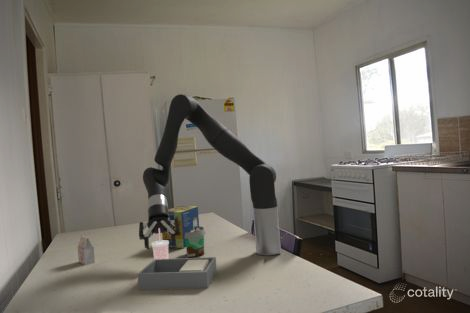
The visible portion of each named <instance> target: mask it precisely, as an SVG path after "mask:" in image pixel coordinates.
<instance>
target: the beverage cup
mask: <svg viewBox="0 0 470 313" xmlns="http://www.w3.org/2000/svg"><path fill="white" fill-rule="evenodd" d="M158 229H159V233H158V239H159V240H155V241H152V242H151V247H152V252H153V253H152V254H153V260H154V259H170V257H169V256H170V255H169V248H168V244H169V241H168V240H163V239H161V233H160V228H158Z"/></svg>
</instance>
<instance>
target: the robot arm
mask: <svg viewBox="0 0 470 313" xmlns="http://www.w3.org/2000/svg"><path fill="white" fill-rule="evenodd" d="M185 120H187V121H188V122H189V123H191V124H192V125H193V126H195V127H196V128H197V129H199V131H200V132H201V134H202V136H203V137H204V138H205V140H206V142H207V143H208V144H209V146H211V147H212V148H213V149H214V150H215V151H216V152H218V154H220V155H221V156H223V157H224V158H226V159H227V160H228V161H230V162H232V163H235V165H237V166H239V167H240V168H241V169H243V170H244V171H245V173H246V174H248V175H249V180H248V181H249V191H250V192H249V193H250V200H251V202H252V212H253V227H254V240H255V254H258V255H260V256H274V255H279V254H282V252H281V250H282V249H281V235H280V234H281V233H280V223H279V213H278V200H277V197H276V196H277V195H276V188H275V182H276V180H277V172H276V170H275V169H274V167H273V166H271V165H270V164H268V163H267V162H266V161H264V160H262V159H261V158H260V157H259V156H257V155H255V154H254V153H253V152H252V151H251V150H250V149H249V148H248V147H247V146H246V145H245V143H243V141H241V139H239V138H238V137H237V136H236V135H235V134H234V133H233V132H231V130H229V129H228V127H226V126H225V125H224V124H222V123H221V122H220V121H218V120H217V119H215V118H214V117H213V116H211V114H209V113H208V112H207V111H206V110H205V108H204V107H203V106H202V105H201V104H200V103H199V102H198V101H197V100H196V99H195V98H194V97H193V96H190V95H188V94H177V95H175V96H174V97H173V98H172V99H171V101H170V104H169V109H168V113H167V118H166V122H165V126H164V130H163V134H162V137H161V140H160V143H159V145H158V148H157V150H156V153H155V155H154V162H155V163H156V165H157V164H158V165H159V166H161V167H162V168H161V169H160V168H155V167H152V166H150V167H147V168H145V170H144V171H143V173H142V180H143V184H144V186H145V189H146V191H147V199H148V200H147V201H148V202H147V213H148V214H147V216H148V218H147V219H148V221H147V222H146V223H144V222H143V221H140V222H139V226H138V237H139V240H140V241H141V240H142V241H143V240H144V242H143V243H144V248H145V249H146V250H150V240H149V239H150V238H151V237H152V236H153V235H154V234H155V235H156V234H158V235H159V229H158V228H160V234H162V233H164V232H166V233H167V234H169V235H170V236H171V243H172V246H174V245H175V236H176V235H180V229H179V224H178V219H177V218H175V219H174V220H171V221H170V220H169V213H168V210H169V204H168V200H167V199H168V198H167V197H168V196H167V190H166V188H165V187H166V186H167V185H168V183H169V181H170V171H171V165H172V162H173V159H174V157H175V154H176V151H177V148H178V143H179V133H180V131H181V127H182V124H183V122H184V121H185ZM171 224H172V225H173V226H175V229H176V231H173V230H172V229H171V227H170V225H171ZM146 228H147V231H146V232H145V234H144V230H146Z"/></svg>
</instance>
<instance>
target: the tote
mask: <svg viewBox="0 0 470 313" xmlns="http://www.w3.org/2000/svg"><path fill="white" fill-rule="evenodd" d="M205 259H208V261H209V265H208V266H207V268H206V270H205V271H194V272H179V270H180V269H181V268H182V267H183V266H184V264H185V263H186V262H187V261H188V260H205ZM217 272H218V270H217V258H216V256H213V257H212V256H211V257H209V256H207V257H197V258H187V257H184V258H183V257H182V258H181V257H179V258H169V259H154V258H153V259H152V261H150V263H148V264H147V265H146V266H145V267H143V269H142V270H140V271H139V272H138V273H136V274H137V275H136V276H137V288H138V291H139V290H177V289H178V290H179V289H181V290H182V289H184V290H185V289H187V290H189V289H209V287H210V285H211V283H212V281H213V279H214V277H215V275H216V273H217Z"/></svg>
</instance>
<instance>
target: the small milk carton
mask: <svg viewBox="0 0 470 313" xmlns="http://www.w3.org/2000/svg"><path fill="white" fill-rule="evenodd" d="M77 254H78V255H77V256H78V257H77V258H78V262H79V263H80V264H82V265H84V266H87V265H92V264H95V263H96V260H95V247H94V245H92V242H91V241H90V239H89V238H88V237H87V236H84V235H83V236H82V235H81V236H80V240H79V242H78V245H77Z"/></svg>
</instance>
